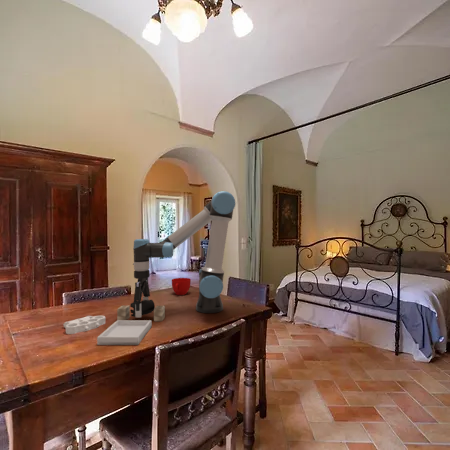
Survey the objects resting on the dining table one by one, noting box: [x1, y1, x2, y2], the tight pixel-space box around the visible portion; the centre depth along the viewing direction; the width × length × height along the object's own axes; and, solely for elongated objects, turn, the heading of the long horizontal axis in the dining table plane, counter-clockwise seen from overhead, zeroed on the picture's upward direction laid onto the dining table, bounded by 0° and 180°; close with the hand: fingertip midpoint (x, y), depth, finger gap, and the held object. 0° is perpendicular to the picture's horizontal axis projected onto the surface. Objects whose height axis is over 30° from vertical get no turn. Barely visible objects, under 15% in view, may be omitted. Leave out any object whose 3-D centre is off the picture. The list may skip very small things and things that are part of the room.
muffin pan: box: [63, 315, 106, 335], centre depth 131 cm, size 3×18×15 cm
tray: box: [96, 319, 153, 346], centre depth 121 cm, size 16×20×3 cm
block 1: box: [116, 305, 131, 321], centre depth 142 cm, size 4×6×6 cm, turn 0°
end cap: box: [129, 299, 156, 318], centre depth 142 cm, size 10×7×7 cm
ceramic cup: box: [171, 277, 192, 296], centre depth 193 cm, size 13×17×10 cm
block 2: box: [153, 305, 166, 322], centre depth 142 cm, size 4×6×6 cm, turn 0°
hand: (142, 313), depth 142 cm, fingers closed on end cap, 12 cm apart
